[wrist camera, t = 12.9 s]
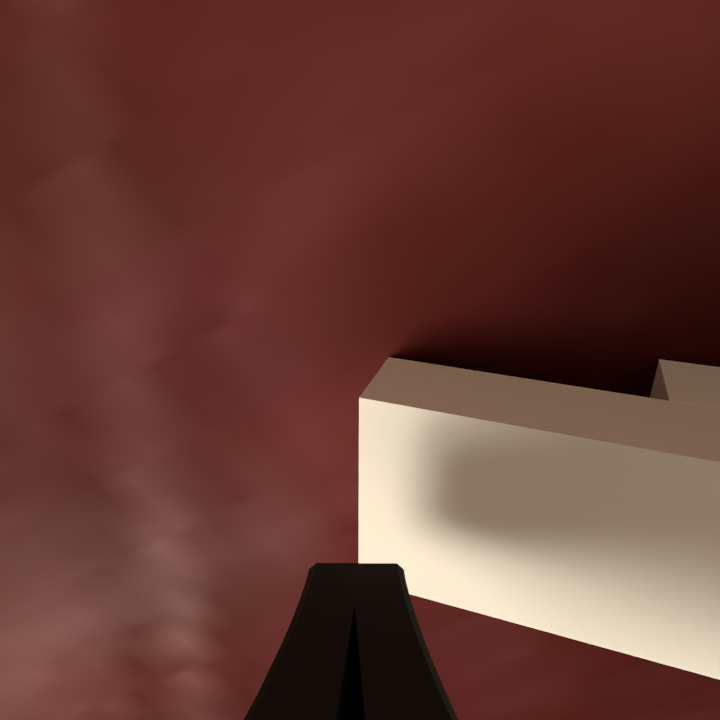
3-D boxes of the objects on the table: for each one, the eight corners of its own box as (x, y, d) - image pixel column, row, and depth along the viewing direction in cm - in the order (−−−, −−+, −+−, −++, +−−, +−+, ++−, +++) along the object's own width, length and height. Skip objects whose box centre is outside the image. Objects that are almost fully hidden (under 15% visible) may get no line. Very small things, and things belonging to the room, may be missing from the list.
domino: (388, 357, 13) (782, 418, 10) (384, 525, 14) (716, 606, 12) (358, 397, 11) (813, 479, 9) (358, 579, 13) (731, 682, 11)
